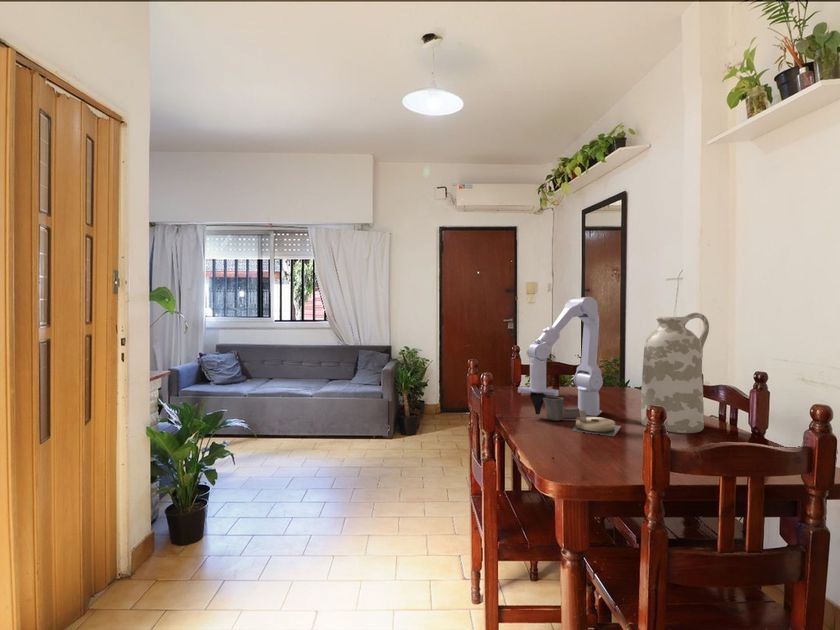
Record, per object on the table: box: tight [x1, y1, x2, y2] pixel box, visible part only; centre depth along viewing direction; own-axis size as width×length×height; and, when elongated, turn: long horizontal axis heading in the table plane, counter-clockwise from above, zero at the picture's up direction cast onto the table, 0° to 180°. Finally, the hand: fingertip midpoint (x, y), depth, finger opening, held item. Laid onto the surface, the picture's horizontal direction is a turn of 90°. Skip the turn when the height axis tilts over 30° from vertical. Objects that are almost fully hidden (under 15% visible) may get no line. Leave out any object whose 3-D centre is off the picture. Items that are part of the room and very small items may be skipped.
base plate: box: [570, 424, 622, 437], centre depth 154 cm, size 14×13×1 cm
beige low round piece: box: [575, 410, 616, 432], centre depth 154 cm, size 12×12×6 cm
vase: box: [640, 312, 710, 434], centre depth 156 cm, size 20×19×38 cm
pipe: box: [543, 396, 580, 422], centre depth 166 cm, size 6×13×8 cm, turn 89°
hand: (537, 413), depth 170 cm, fingers closed
